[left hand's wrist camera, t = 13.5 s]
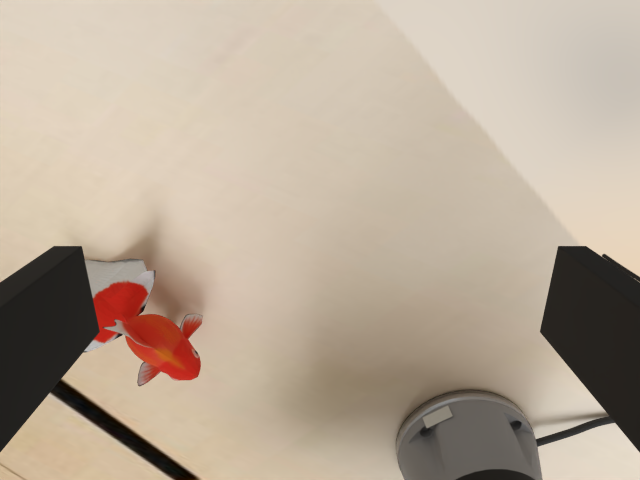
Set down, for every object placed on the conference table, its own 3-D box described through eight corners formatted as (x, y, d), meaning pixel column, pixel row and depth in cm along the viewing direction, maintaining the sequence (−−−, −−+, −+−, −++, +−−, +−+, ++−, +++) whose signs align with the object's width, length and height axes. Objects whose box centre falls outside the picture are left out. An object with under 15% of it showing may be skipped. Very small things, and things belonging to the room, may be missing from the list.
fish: (137, 419, 44) (87, 448, 34) (60, 287, 46) (-7, 278, 36) (230, 356, 45) (209, 366, 35) (152, 231, 47) (111, 207, 37)
